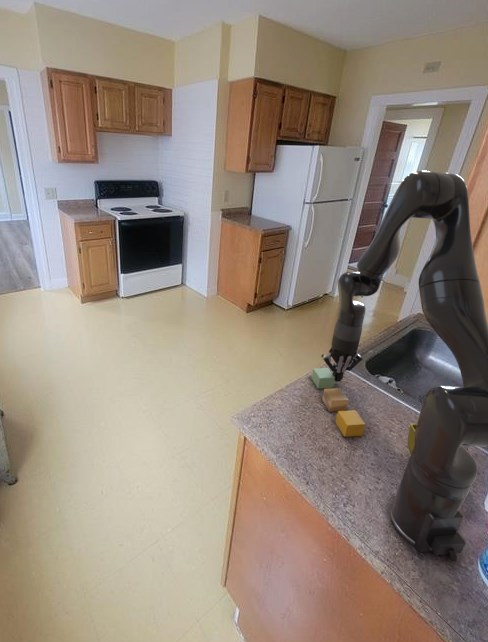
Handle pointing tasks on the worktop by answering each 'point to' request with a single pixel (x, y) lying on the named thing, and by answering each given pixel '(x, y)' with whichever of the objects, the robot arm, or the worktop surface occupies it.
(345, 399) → the maple block
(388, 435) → the worktop surface
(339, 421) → the mustard block
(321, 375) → the sage block
